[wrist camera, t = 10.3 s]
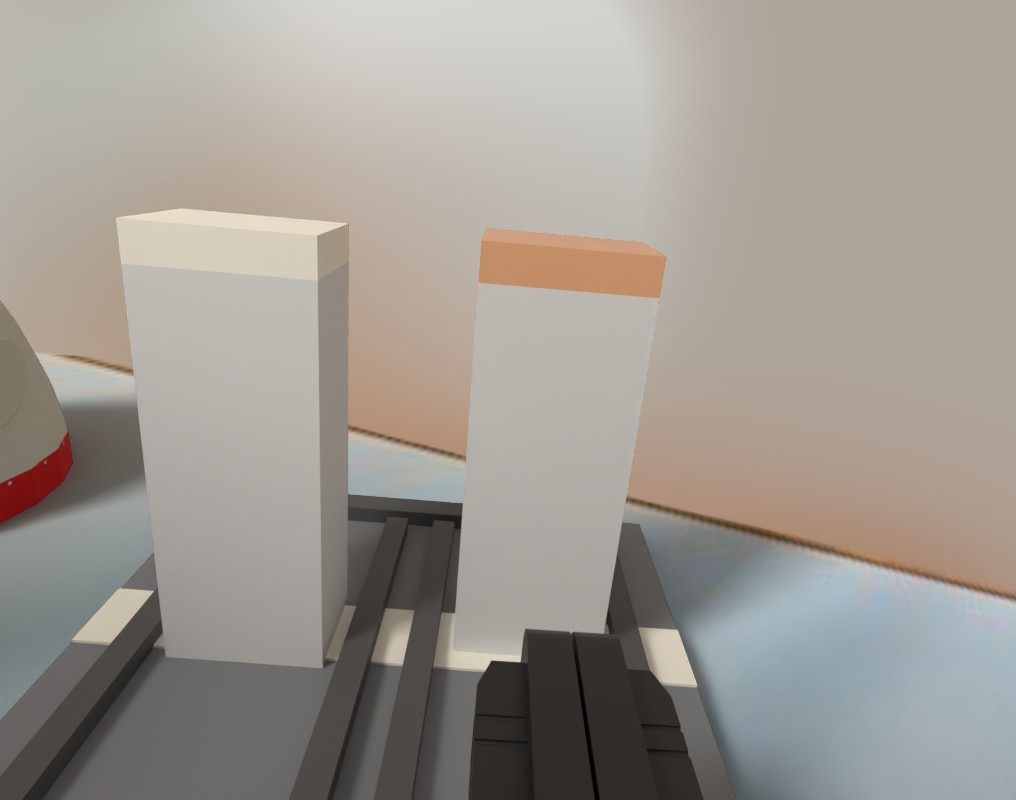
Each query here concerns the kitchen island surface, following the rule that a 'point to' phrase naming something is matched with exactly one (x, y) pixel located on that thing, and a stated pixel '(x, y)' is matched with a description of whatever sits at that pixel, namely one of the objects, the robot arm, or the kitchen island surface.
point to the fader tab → (550, 431)
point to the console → (279, 564)
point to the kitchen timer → (27, 425)
